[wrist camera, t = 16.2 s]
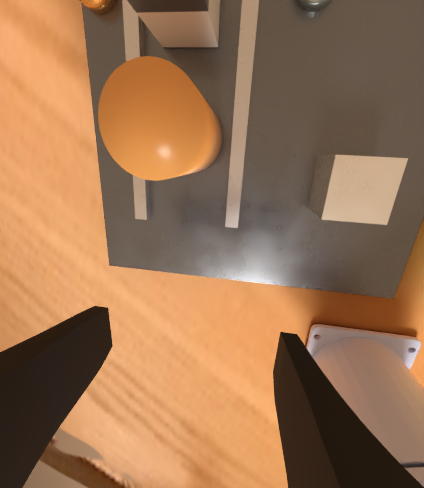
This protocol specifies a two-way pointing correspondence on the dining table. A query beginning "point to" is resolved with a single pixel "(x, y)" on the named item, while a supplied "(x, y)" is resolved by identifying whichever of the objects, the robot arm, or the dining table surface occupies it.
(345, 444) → the robot arm
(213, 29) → the lever
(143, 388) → the dining table surface
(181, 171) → the cap
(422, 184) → the panel
